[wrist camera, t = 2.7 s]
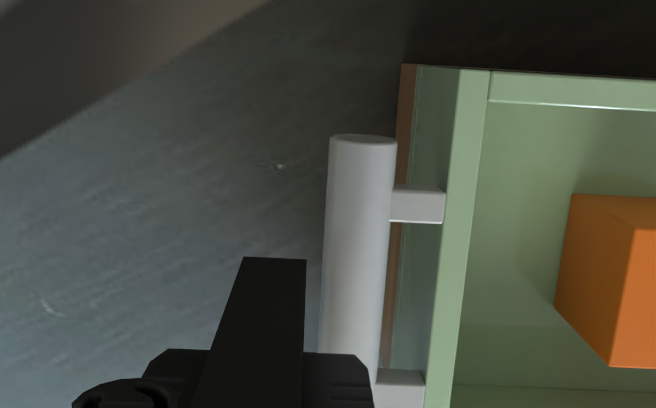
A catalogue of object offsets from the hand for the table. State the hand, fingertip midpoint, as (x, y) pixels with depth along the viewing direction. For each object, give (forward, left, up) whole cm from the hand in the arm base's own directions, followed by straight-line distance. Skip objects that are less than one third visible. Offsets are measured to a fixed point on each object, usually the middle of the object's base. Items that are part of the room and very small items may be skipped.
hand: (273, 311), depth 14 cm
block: (-3, +11, -5) cm, 12 cm away
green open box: (-3, +8, -6) cm, 10 cm away
